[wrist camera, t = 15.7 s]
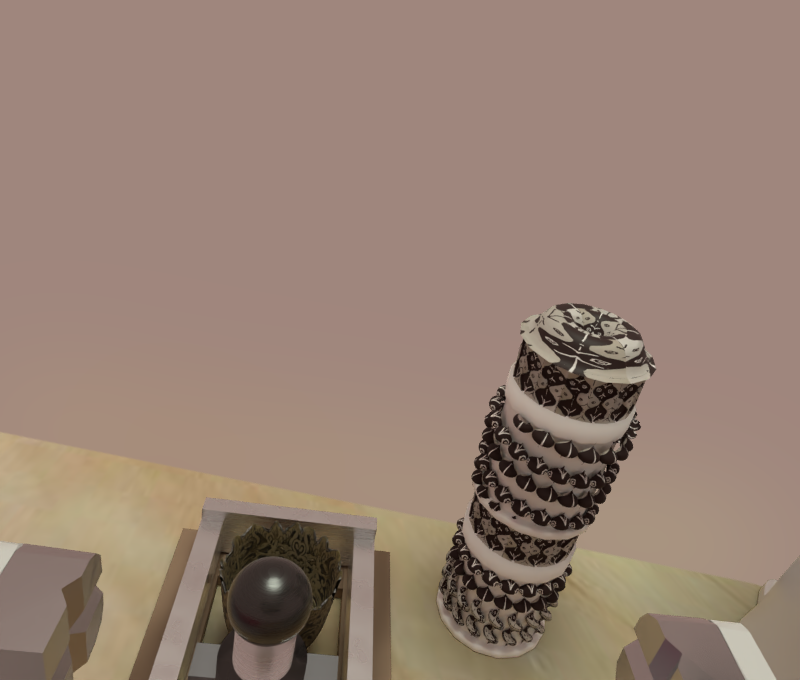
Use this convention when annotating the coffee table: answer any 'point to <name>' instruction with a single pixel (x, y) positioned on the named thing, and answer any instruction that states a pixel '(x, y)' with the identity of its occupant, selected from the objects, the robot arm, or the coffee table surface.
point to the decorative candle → (541, 474)
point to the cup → (297, 548)
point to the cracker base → (341, 593)
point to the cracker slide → (269, 597)
